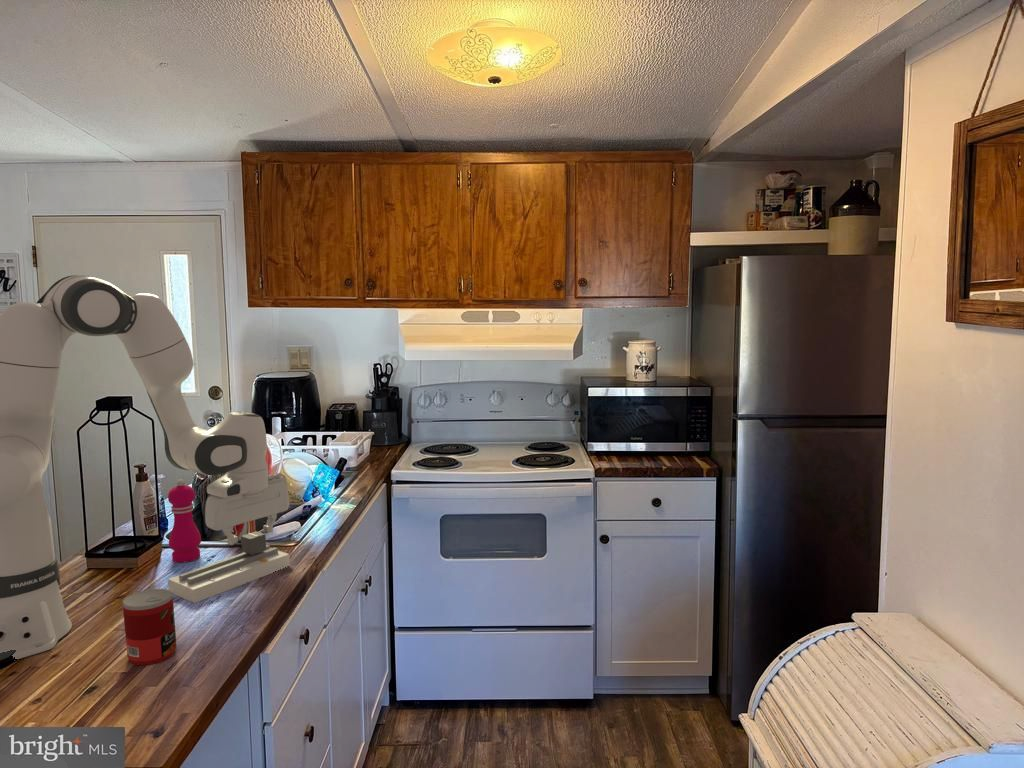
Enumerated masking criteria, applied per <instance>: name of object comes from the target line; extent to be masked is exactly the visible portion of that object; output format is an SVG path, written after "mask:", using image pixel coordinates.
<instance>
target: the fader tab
mask: <svg viewBox="0 0 1024 768" xmlns="http://www.w3.org/2000/svg"><path fill="white" fill-rule="evenodd" d="M266 537H267V536H266V533H264V532H259V531H257V530H256V531H255V532H252V533H249V534H246V535H243V536H241V542H240V543H241V553H247V554H250V556H251V555H254V554H257V553H259V552H261V551H264V550H266V545H267V540H266V539H267V538H266Z"/></svg>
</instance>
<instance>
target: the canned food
mask: <svg viewBox="0 0 1024 768" xmlns="http://www.w3.org/2000/svg"><path fill="white" fill-rule="evenodd" d="M122 609H123V610H122V613H123V621H124V622H123V623H124V634H125V645H126V655H127V659H128V661H129V663H131V664H132V665H135V666H151V665H154V664H159V663H161V662H164V661H166V660H167V659H170V658H171V657H172V656H174V655H175V652H176V650H177V635H176V621H175V610H174V609H175V607H174V597H173V593H172V592H171V591H169V589H166V588H152V589H145V590H141V591H137V592H134V593H133V594H130V595H128V596H126V597H125V598H124V599H123V601H122Z"/></svg>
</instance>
